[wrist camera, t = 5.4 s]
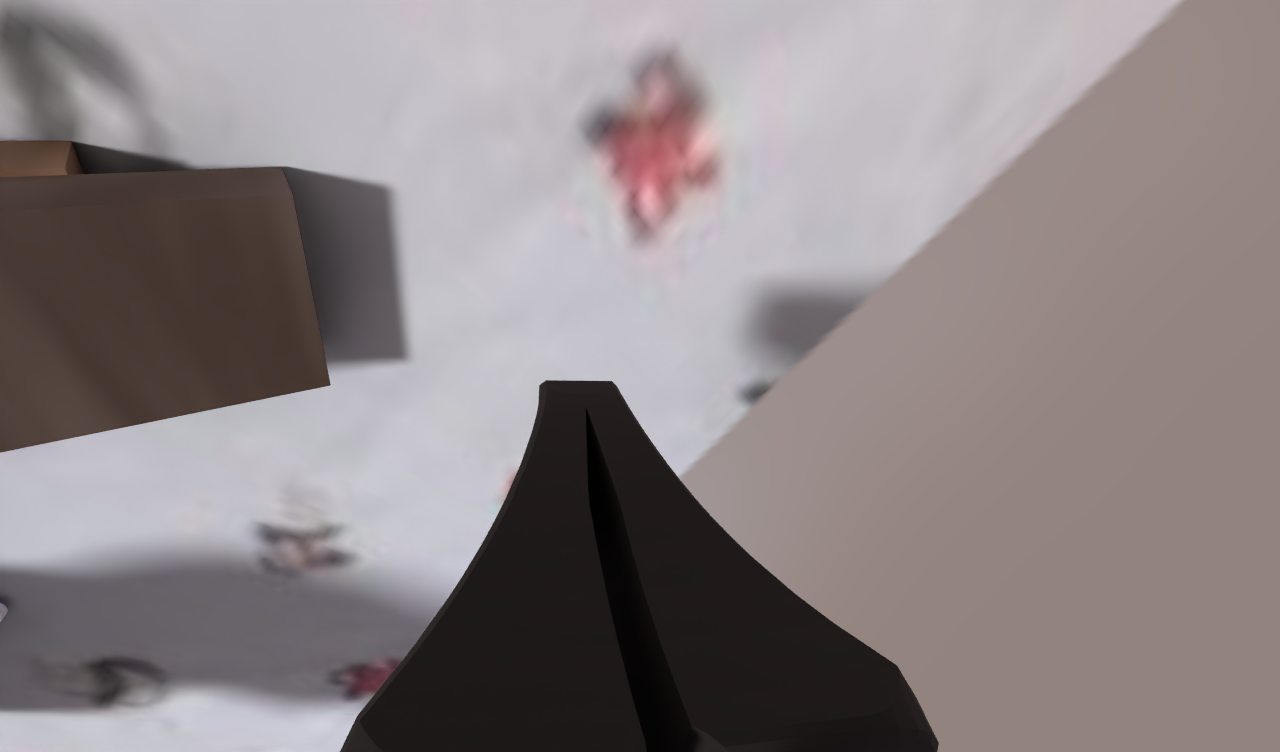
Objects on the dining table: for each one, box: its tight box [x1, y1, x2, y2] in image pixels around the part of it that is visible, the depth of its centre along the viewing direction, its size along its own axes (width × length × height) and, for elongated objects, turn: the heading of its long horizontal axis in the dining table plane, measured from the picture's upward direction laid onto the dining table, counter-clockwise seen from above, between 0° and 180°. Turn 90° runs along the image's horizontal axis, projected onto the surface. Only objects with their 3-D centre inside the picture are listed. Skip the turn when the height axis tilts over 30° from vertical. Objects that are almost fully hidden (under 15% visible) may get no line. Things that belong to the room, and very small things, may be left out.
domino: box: [0, 167, 330, 452], centre depth 12 cm, size 2×5×9 cm
